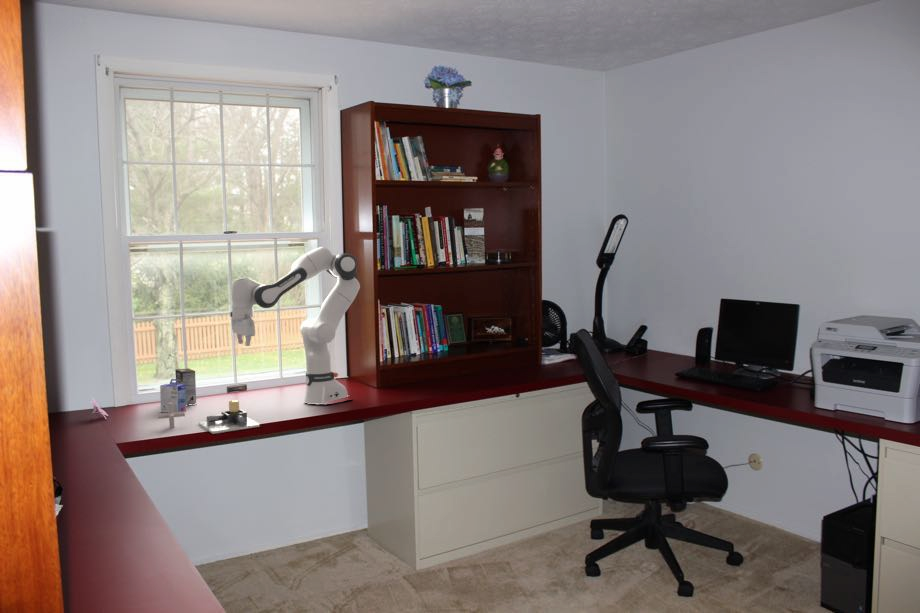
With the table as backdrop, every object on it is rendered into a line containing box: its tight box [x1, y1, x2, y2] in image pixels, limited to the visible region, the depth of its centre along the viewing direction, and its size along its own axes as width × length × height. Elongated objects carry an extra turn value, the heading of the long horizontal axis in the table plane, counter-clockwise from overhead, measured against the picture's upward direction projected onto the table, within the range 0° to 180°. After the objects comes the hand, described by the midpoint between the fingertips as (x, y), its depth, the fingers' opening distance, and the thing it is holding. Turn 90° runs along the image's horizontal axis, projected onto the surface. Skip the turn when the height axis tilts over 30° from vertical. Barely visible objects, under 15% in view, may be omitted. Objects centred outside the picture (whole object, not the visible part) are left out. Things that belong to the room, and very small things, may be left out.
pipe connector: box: [157, 403, 186, 429], centre depth 300 cm, size 10×10×10 cm
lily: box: [87, 396, 109, 421], centre depth 315 cm, size 12×12×10 cm
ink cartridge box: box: [159, 378, 187, 413], centre depth 328 cm, size 10×6×14 cm, turn 71°
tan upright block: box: [228, 399, 240, 414], centre depth 307 cm, size 4×4×8 cm
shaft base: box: [197, 408, 261, 435], centre depth 302 cm, size 19×19×4 cm
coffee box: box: [174, 368, 197, 405], centre depth 344 cm, size 9×6×16 cm
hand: (244, 344), depth 331 cm, fingers open, 8 cm apart
